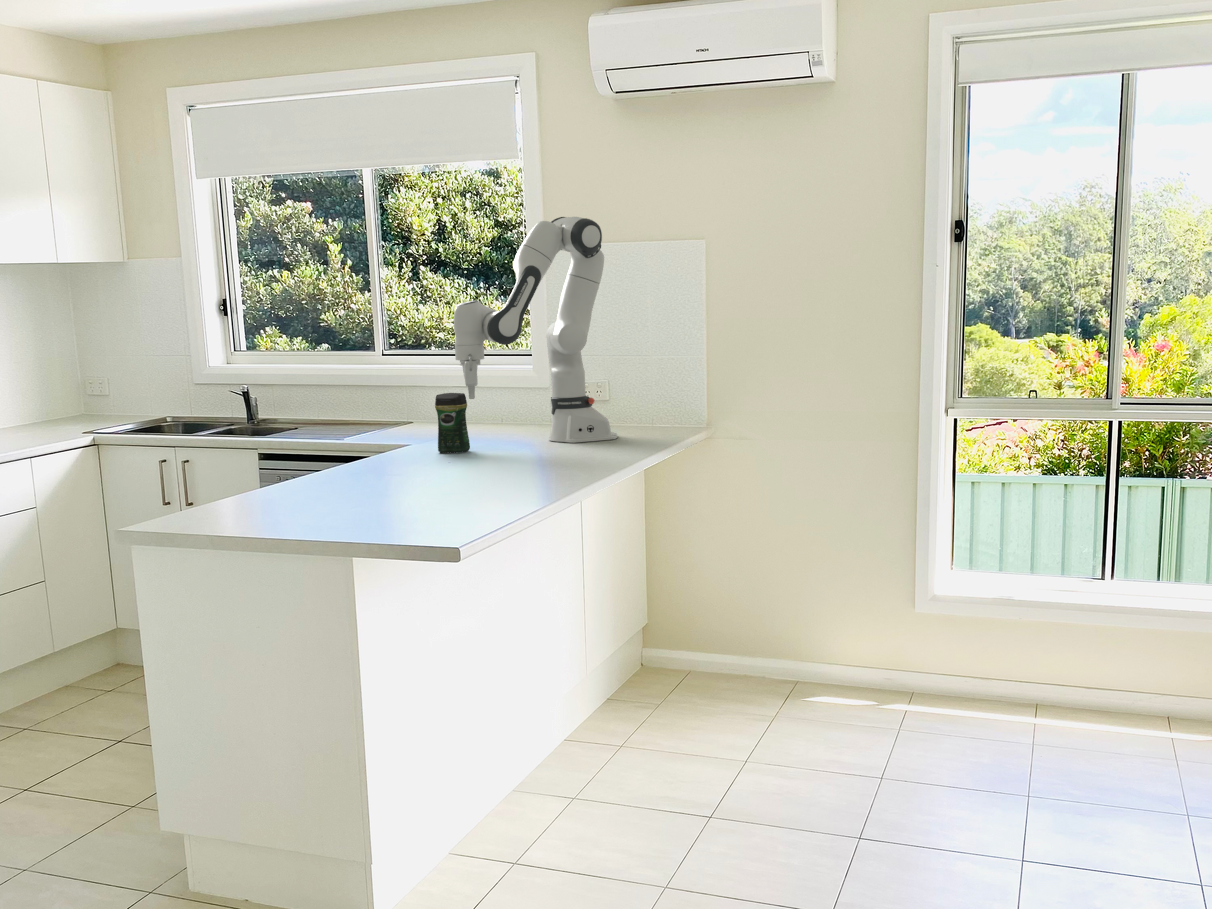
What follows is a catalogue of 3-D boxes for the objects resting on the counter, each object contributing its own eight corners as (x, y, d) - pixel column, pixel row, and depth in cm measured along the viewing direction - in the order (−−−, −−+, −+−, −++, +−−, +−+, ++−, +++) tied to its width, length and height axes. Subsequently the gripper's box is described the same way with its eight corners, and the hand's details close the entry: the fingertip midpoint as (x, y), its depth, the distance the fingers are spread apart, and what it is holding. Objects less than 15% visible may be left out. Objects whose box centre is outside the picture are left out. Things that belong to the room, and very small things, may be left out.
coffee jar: (473, 450, 344) (469, 391, 341) (463, 454, 336) (460, 393, 334) (444, 450, 346) (441, 391, 344) (434, 454, 339) (430, 394, 336)
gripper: (480, 355, 328) (482, 401, 330) (479, 352, 348) (481, 395, 350) (459, 356, 327) (461, 402, 329) (459, 352, 347) (461, 396, 349)
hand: (471, 398), depth 340 cm, fingers closed
